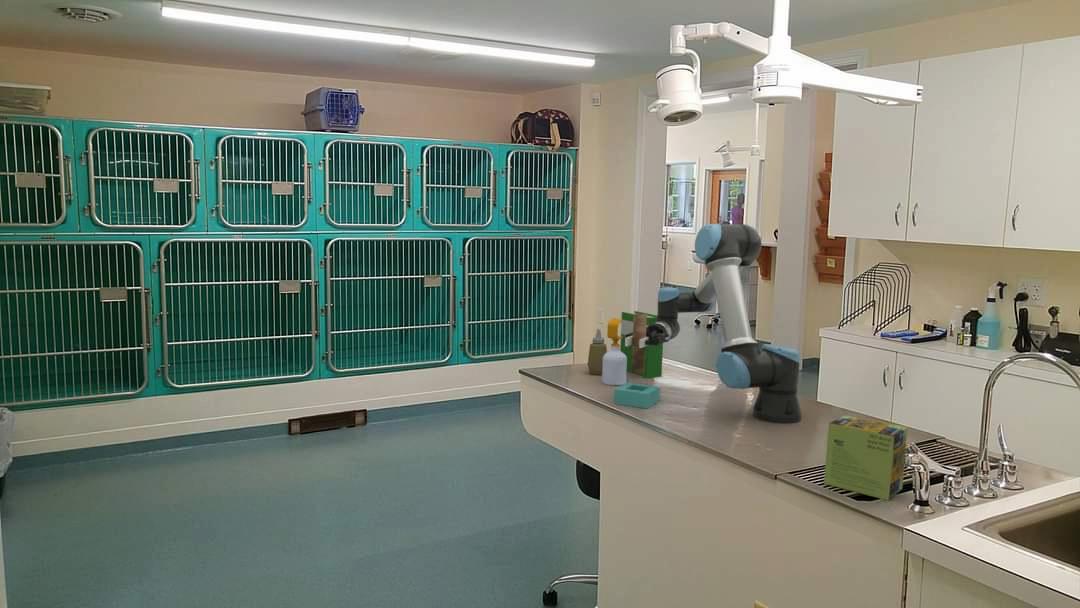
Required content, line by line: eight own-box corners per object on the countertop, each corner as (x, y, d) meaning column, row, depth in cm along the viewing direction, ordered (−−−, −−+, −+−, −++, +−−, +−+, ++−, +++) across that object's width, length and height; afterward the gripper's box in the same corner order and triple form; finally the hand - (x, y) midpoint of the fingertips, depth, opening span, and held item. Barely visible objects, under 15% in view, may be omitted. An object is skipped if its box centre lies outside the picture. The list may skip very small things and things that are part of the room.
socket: (659, 401, 258) (660, 386, 257) (647, 408, 247) (647, 394, 247) (627, 396, 263) (627, 382, 263) (613, 403, 253) (614, 389, 252)
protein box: (889, 501, 172) (895, 436, 170) (823, 484, 182) (827, 422, 180) (903, 489, 180) (908, 426, 178) (838, 473, 190) (843, 414, 188)
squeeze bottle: (607, 372, 302) (608, 328, 300) (607, 376, 294) (608, 331, 292) (587, 371, 303) (588, 327, 300) (586, 375, 295) (588, 330, 292)
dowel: (646, 372, 255) (648, 314, 252) (641, 374, 251) (644, 315, 249) (634, 370, 257) (636, 313, 254) (629, 372, 253) (631, 314, 251)
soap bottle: (629, 382, 284) (632, 318, 281) (619, 387, 277) (621, 321, 274) (609, 379, 289) (611, 316, 286) (597, 383, 282) (599, 319, 278)
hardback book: (619, 369, 307) (621, 312, 304) (633, 368, 311) (636, 311, 308) (646, 378, 292) (649, 317, 289) (661, 376, 296) (664, 316, 293)
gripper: (680, 346, 265) (657, 357, 244) (634, 341, 273) (608, 351, 253) (681, 325, 264) (658, 334, 243) (635, 320, 272) (609, 329, 252)
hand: (633, 343), depth 248 cm, fingers closed on dowel, 4 cm apart
